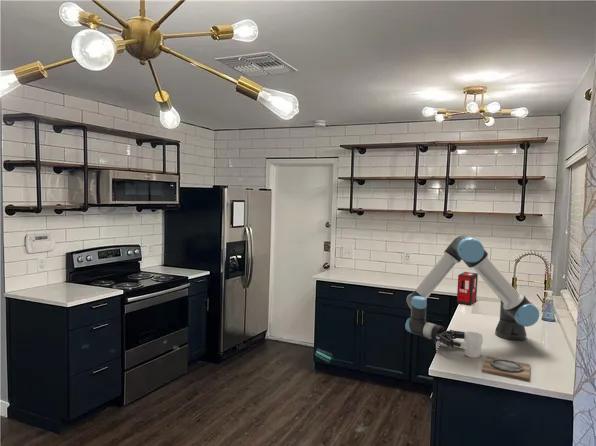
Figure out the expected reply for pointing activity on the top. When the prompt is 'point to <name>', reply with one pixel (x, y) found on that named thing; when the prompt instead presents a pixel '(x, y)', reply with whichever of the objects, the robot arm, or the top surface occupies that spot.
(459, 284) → the cleaning product box
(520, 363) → the coaster board
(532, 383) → the top surface
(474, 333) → the white cup
